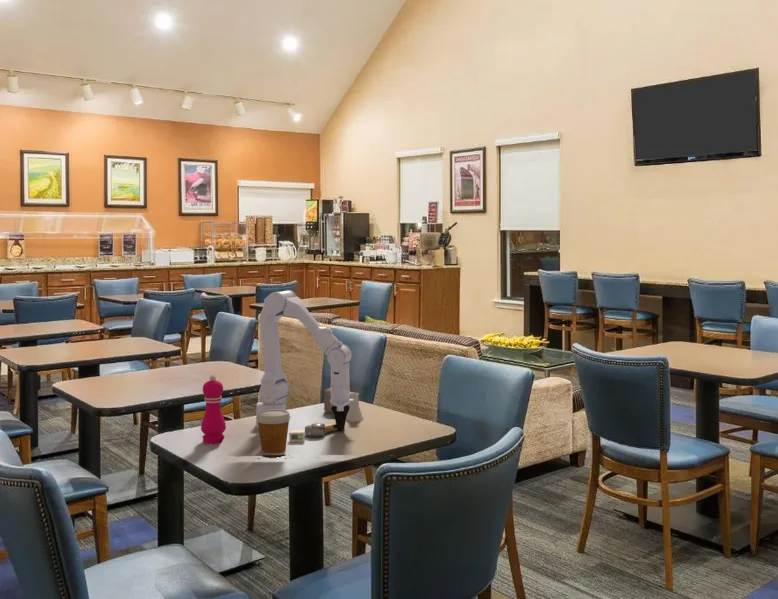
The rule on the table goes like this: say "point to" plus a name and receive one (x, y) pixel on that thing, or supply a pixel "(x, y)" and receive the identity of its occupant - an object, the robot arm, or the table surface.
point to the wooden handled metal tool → (319, 430)
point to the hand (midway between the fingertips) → (340, 429)
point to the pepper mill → (213, 412)
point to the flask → (354, 409)
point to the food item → (327, 400)
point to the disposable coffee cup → (273, 431)
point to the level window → (297, 436)
